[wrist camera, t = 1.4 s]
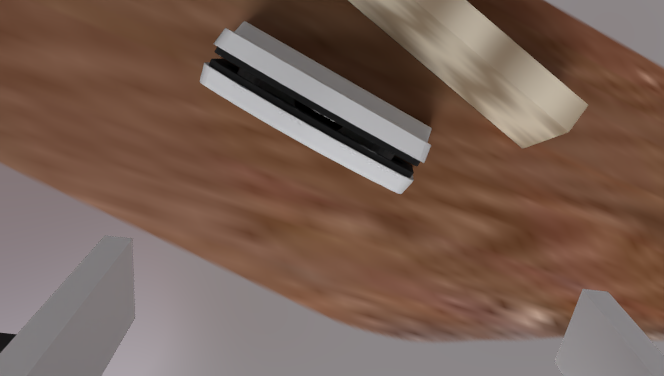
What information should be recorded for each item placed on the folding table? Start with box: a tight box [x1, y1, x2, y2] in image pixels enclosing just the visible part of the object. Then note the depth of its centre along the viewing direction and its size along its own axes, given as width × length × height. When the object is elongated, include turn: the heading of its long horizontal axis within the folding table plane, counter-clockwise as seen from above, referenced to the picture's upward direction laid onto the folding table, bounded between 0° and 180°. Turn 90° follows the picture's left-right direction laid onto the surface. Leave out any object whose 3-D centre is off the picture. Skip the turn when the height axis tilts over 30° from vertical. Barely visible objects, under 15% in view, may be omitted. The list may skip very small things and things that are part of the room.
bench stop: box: [348, 0, 588, 149], centre depth 36 cm, size 26×2×6 cm, turn 51°
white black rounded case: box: [200, 21, 432, 194], centre depth 33 cm, size 17×5×10 cm, turn 62°
